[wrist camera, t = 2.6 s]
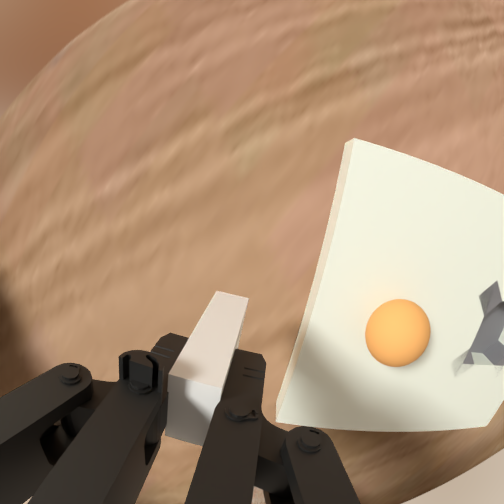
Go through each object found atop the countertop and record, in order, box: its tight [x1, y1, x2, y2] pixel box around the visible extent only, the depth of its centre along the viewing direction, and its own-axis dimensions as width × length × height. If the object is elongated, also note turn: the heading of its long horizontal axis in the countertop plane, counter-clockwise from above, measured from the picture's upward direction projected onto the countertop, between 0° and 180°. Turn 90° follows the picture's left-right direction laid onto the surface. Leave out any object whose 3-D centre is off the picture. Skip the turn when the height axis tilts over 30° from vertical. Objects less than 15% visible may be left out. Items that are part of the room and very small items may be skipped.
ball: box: [365, 299, 431, 367], centre depth 16 cm, size 4×4×4 cm
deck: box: [276, 138, 504, 432], centre depth 19 cm, size 22×20×2 cm
